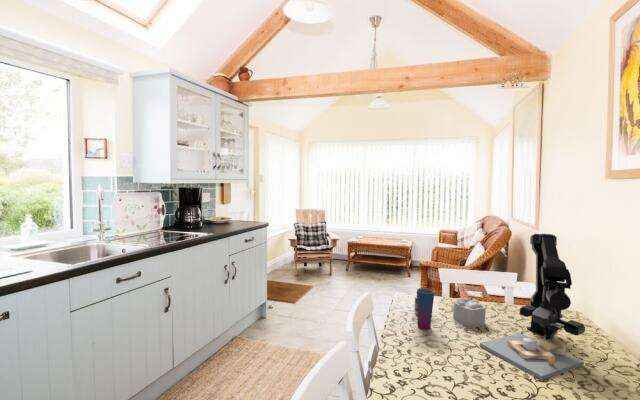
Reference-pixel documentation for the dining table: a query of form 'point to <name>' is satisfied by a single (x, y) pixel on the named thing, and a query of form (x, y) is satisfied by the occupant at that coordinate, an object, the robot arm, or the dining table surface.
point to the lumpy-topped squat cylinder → (469, 312)
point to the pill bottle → (415, 304)
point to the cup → (424, 307)
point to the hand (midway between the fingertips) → (548, 342)
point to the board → (531, 366)
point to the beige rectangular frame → (540, 349)
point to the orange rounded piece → (551, 360)
